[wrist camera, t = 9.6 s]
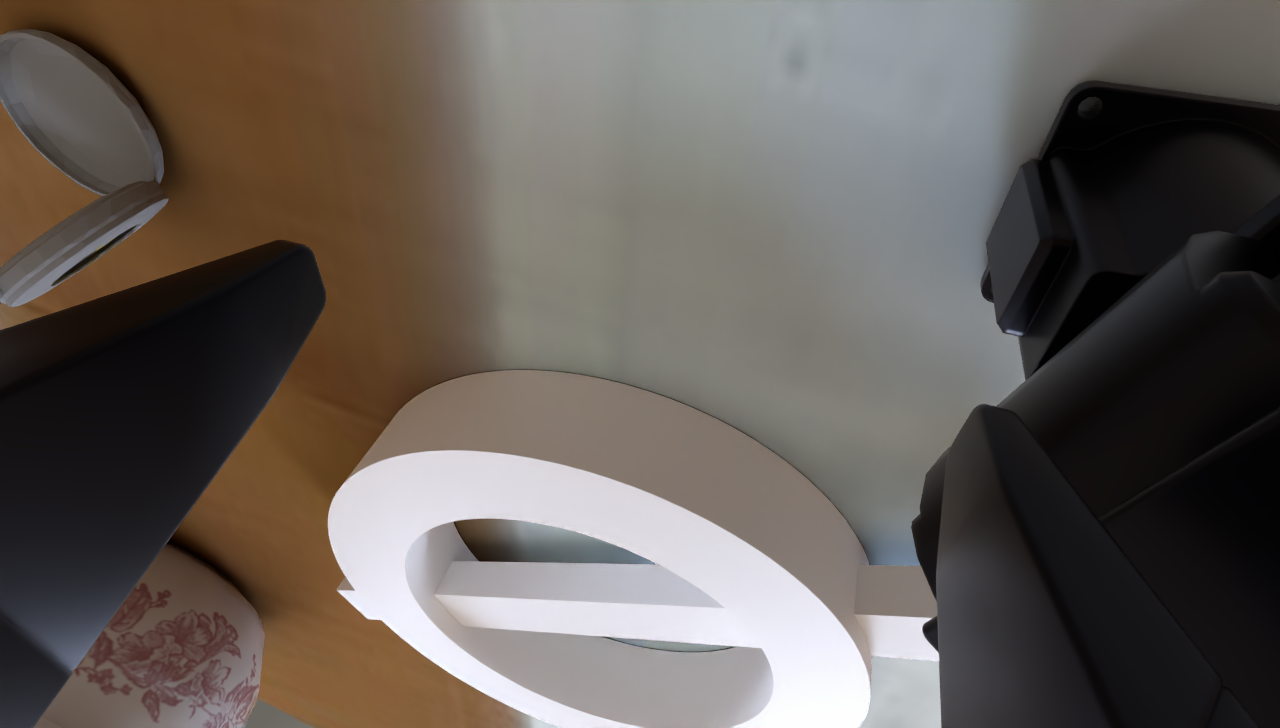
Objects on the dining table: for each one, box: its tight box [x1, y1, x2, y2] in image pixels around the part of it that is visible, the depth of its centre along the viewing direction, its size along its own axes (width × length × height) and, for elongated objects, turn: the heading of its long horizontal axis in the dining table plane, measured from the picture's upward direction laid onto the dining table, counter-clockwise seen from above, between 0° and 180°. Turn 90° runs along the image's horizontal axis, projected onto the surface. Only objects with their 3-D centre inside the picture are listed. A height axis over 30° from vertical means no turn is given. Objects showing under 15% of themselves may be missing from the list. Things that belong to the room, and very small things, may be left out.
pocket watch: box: [0, 29, 169, 307], centre depth 24 cm, size 8×8×10 cm
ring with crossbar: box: [328, 370, 939, 728], centre depth 37 cm, size 28×28×5 cm
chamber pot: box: [34, 542, 265, 728], centre depth 54 cm, size 28×28×21 cm
